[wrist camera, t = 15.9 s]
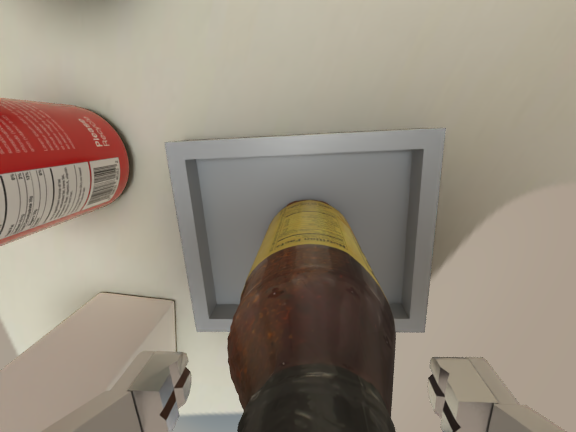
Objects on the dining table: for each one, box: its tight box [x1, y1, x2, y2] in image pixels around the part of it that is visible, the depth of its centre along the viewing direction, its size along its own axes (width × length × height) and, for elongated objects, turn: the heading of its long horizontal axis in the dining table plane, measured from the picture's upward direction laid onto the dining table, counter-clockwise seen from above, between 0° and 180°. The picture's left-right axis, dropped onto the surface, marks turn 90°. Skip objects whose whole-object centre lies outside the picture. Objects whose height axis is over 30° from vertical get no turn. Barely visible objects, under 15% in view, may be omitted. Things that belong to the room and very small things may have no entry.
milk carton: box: [0, 293, 176, 432], centre depth 18 cm, size 7×7×19 cm
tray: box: [165, 128, 446, 332], centre depth 22 cm, size 18×15×3 cm
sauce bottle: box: [228, 200, 396, 432], centre depth 13 cm, size 6×6×20 cm
